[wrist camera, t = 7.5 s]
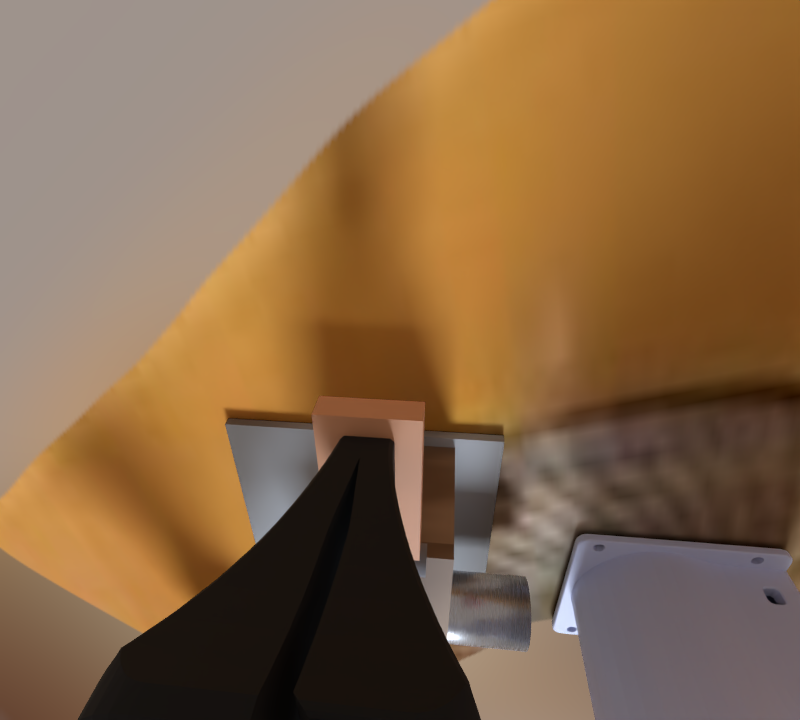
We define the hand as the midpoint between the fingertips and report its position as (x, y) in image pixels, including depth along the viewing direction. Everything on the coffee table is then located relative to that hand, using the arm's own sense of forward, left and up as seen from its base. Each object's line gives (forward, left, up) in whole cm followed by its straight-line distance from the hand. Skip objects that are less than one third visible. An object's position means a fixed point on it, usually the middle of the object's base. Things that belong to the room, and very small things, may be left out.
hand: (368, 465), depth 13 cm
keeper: (0, +2, -1) cm, 2 cm away
